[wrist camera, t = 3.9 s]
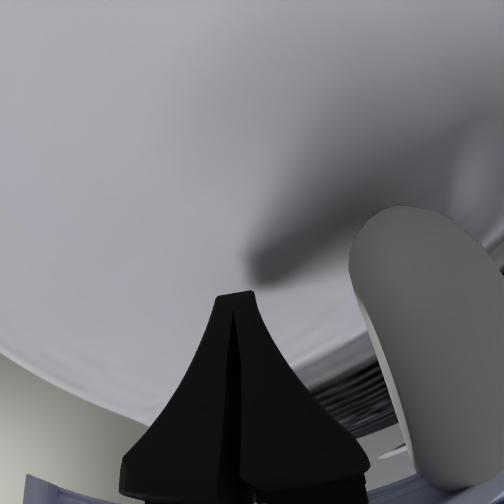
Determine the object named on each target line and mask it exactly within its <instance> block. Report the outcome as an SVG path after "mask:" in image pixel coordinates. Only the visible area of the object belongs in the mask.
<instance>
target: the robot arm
mask: <svg viewBox="0 0 504 504" xmlns="http://www.w3.org/2000/svg"><path fill="white" fill-rule="evenodd" d="M369 468H370V462H369V459H368V457H367V455H366V453H365V452H364V450H363V449H362V447H361V446H360V444H359V443H358V442H357V440H356V439H355V437H354V436H353V435H352V434H351V433H350V432H349V431H347V430H346V429H345V428H344V427H343V426H342V425H341V424H340V423H339V422H338V421H337V420H335V419H334V418H333V417H332V416H331V415H330V414H329V413H328V412H327V410H326V409H325V408H324V407H323V406H322V405H321V404H320V403H319V402H318V401H317V400H316V399H315V397H314V396H313V395H312V394H311V393H310V392H309V391H308V389H307V388H306V387H305V386H304V385H303V383H302V382H301V381H300V379H299V378H298V377H297V376H296V374H295V373H294V372H293V370H292V369H291V367H290V366H289V365H288V363H287V362H286V360H285V359H284V357H283V356H282V354H281V353H280V351H279V349H278V348H277V346H276V344H275V343H274V341H273V339H272V337H271V335H270V334H269V332H268V330H267V328H266V326H265V324H264V322H263V320H262V317H261V315H260V312H259V310H258V307H257V303H256V298H255V294H254V292H253V291H251V290H250V291H244V292H238V293H232V294H226V295H220V296H217V298H216V299H215V303H214V306H213V310H212V313H211V316H210V319H209V322H208V324H207V327H206V330H205V332H204V335H203V337H202V340H201V342H200V345H199V347H198V349H197V351H196V353H195V356H194V358H193V360H192V362H191V364H190V366H189V368H188V370H187V372H186V374H185V376H184V378H183V379H182V381H181V383H180V385H179V386H178V388H177V390H176V391H175V393H174V394H173V396H172V397H171V399H170V401H169V402H168V404H167V405H166V407H165V408H164V409H163V411H162V412H161V414H160V415H159V416H158V417H157V419H156V420H155V421H154V423H153V424H152V425H151V426H150V428H149V429H148V430H147V432H146V433H145V434H144V435H143V436H142V437H141V438H140V439H139V440H138V442H137V443H136V444H135V445H134V446H133V447H132V448H131V449H130V450H129V451H128V452H127V453H126V454H125V455H124V457H123V460H122V464H121V469H120V479H119V493H120V494H122V495H124V496H127V497H131V498H135V499H139V500H143V501H145V504H254V503H255V502H256V503H257V504H504V470H502V471H501V472H500V473H499V474H498V475H496V476H495V477H494V478H493V479H491V480H490V481H488V482H485V483H482V484H480V485H476V486H472V487H469V488H466V489H463V490H460V491H457V492H452V493H448V492H445V491H442V490H439V489H436V488H434V487H432V486H431V485H430V483H429V482H428V481H427V480H426V479H424V478H423V477H422V475H421V473H420V472H419V473H417V474H414V475H412V476H409V477H407V478H404V479H402V480H399V481H397V482H394V483H391V484H389V485H386V486H383V487H380V488H377V489H374V490H370V491H367V492H366V488H365V484H366V480H365V476H364V473H365V472H366V471H368V469H369ZM502 499H503V500H502ZM500 500H501V501H500ZM498 501H499V502H498ZM23 504H119V503H114V502H109V501H105V500H101V499H97V498H93V497H89V496H85V495H83V494H79V493H76V492H73V491H70V490H66V489H64V488H61V487H58V486H57V485H54V484H52V483H49V482H46V481H44V480H42V479H39V478H37V477H34V476H32V475H30V474H27V475H26V482H25V489H24V499H23Z"/></svg>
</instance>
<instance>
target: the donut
mask: <svg viewBox="0 0 504 504" xmlns="http://www.w3.org/2000/svg"><path fill="white" fill-rule="evenodd" d="M349 273H350V277H351V281H352V285H353V289H354V293H355V296H356V299H357V302H358V305H359V307H360V310H361V313H362V316H363V319H364V321H365V324H366V327H367V330H368V333H369V335H370V338H371V341H372V344H373V347H374V350H375V352H376V355H377V358H378V361H379V364H380V367H381V370H382V373H383V376H384V379H385V382H386V385H387V388H388V391H389V394H390V397H391V400H392V403H393V406H394V409H395V412H396V415H397V418H398V421H399V424H400V427H401V431H402V434H403V437H404V440H405V443H406V446H407V449H408V452H409V455H410V458H411V461H412V463H413V466H414V468H415V470H416V472H417V473H419V472H420V473H421V475H422V477H423V478H424V479H426V480H427V481H428V482H429V483H430V485H431V486H432V487H434V488H436V489H439V490H442V491H445V492H448V493H452V492H457V491H460V490H463V489H466V488H469V487H472V486H476V485H480V484H482V483H485V482H488V481H490V480H491V479H493V478H494V477H495V476H496V475H498V474H499V473H500V472H501V471H502V470H504V277H503V275H502V274H501V272H500V271H499V269H498V268H497V266H496V265H495V264H494V262H493V261H492V259H491V258H490V257H489V255H488V254H487V252H486V251H485V250H484V248H483V247H482V246H481V244H480V243H479V242H478V241H477V240H475V239H474V238H473V237H472V236H471V235H469V234H468V233H467V232H466V231H465V230H463V229H462V228H461V227H460V226H458V225H457V224H456V223H454V222H453V221H452V220H451V219H449V218H447V217H446V216H444V215H442V214H440V213H438V212H436V211H433V210H428V209H423V208H418V207H411V206H400V205H398V206H394V207H390V208H387V209H383V210H381V211H380V212H378V213H377V214H376V215H374V216H373V217H371V218H370V219H368V221H367V222H366V223H365V225H364V226H363V227H362V229H361V230H360V231H359V232H358V234H357V236H356V238H355V240H354V243H353V245H352V248H351V251H350V253H349Z"/></svg>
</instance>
